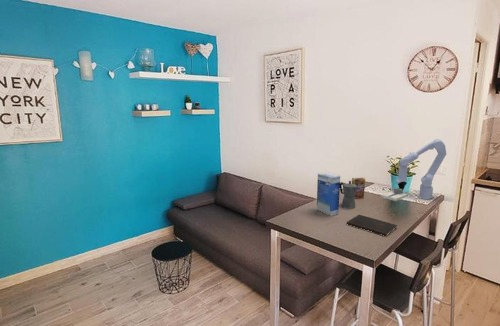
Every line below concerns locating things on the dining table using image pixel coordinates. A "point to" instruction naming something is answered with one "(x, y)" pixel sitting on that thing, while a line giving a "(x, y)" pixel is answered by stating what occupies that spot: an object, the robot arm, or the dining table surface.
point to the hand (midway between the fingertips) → (401, 191)
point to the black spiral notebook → (372, 224)
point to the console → (394, 196)
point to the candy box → (359, 187)
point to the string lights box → (328, 193)
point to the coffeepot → (348, 194)
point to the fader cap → (398, 190)
